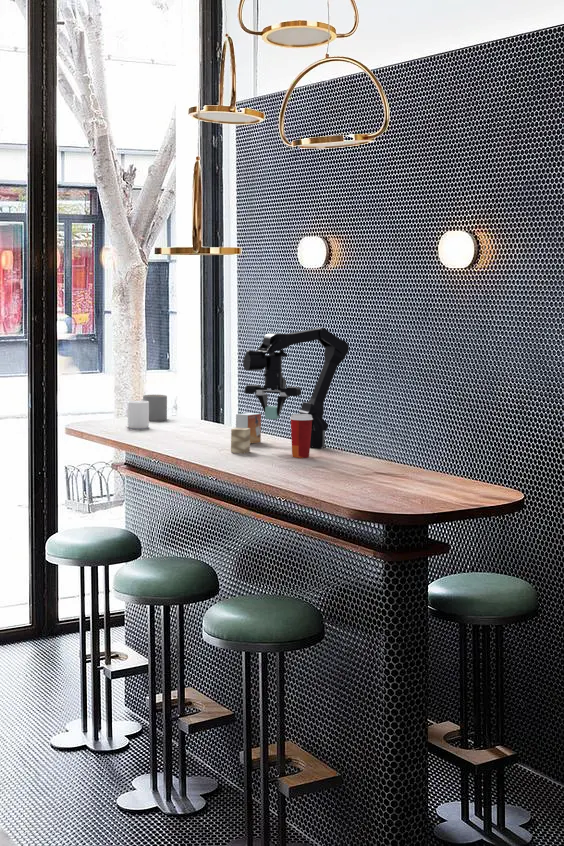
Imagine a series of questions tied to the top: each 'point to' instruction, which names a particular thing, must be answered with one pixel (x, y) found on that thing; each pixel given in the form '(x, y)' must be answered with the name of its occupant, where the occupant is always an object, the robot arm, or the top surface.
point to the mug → (138, 414)
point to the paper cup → (301, 434)
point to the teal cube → (271, 412)
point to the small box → (250, 425)
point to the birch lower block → (240, 447)
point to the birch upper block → (240, 434)
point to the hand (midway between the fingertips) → (272, 415)
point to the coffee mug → (156, 407)
